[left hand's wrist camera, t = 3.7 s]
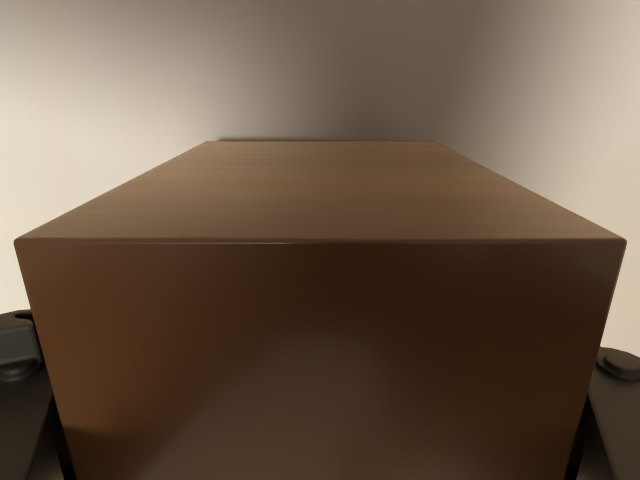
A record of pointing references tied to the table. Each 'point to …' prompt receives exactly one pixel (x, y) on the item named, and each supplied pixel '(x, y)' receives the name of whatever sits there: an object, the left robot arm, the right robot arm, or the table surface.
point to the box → (320, 317)
